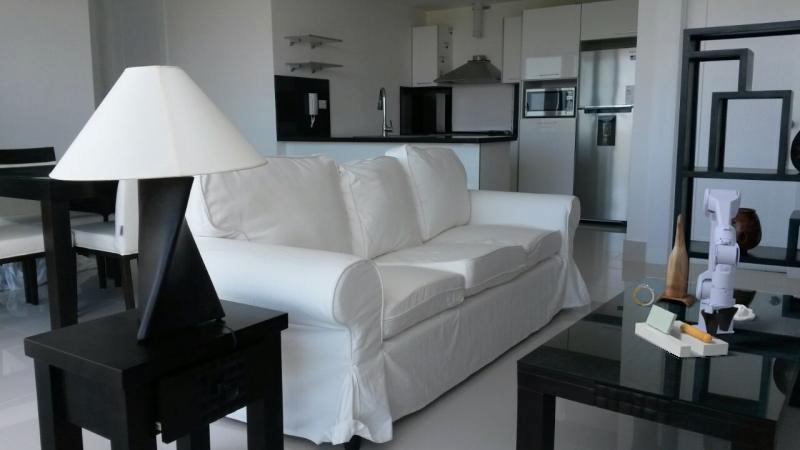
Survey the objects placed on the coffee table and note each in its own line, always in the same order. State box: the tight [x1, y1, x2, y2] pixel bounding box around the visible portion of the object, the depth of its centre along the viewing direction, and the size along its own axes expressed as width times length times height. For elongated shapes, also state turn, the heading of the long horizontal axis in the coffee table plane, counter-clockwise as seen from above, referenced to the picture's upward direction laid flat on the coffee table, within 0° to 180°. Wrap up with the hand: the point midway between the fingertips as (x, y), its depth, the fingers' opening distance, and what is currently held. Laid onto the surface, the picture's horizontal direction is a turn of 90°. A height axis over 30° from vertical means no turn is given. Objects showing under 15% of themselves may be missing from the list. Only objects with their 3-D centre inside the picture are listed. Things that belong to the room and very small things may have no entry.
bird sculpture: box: [655, 213, 695, 308], centre depth 228 cm, size 11×12×32 cm
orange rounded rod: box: [680, 322, 712, 343], centre depth 181 cm, size 2×12×2 cm, turn 13°
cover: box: [645, 304, 678, 334], centre depth 187 cm, size 6×10×1 cm
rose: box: [733, 303, 756, 322], centre depth 214 cm, size 10×4×10 cm
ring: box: [632, 282, 656, 307], centre depth 224 cm, size 7×3×8 cm, turn 57°
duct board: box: [634, 320, 729, 358], centre depth 185 cm, size 15×21×4 cm
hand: (717, 333), depth 183 cm, fingers open, 7 cm apart
